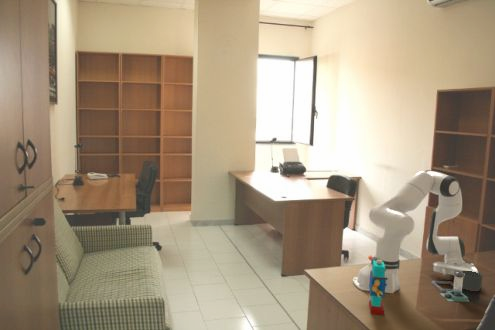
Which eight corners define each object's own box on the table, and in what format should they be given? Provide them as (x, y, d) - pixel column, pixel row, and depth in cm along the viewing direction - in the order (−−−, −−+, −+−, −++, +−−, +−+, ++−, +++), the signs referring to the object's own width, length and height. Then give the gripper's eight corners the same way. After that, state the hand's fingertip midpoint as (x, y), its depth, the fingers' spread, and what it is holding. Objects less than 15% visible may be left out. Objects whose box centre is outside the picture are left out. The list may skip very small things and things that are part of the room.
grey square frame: (441, 293, 200) (441, 289, 200) (431, 284, 210) (431, 280, 210) (461, 293, 201) (462, 289, 200) (450, 285, 211) (450, 281, 210)
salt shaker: (454, 299, 192) (457, 274, 190) (449, 295, 196) (452, 270, 195) (463, 299, 192) (466, 274, 191) (458, 295, 197) (461, 271, 195)
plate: (448, 303, 190) (448, 297, 190) (439, 295, 198) (440, 290, 198) (469, 303, 191) (470, 298, 190) (459, 295, 199) (460, 290, 198)
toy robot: (384, 317, 174) (389, 259, 171) (369, 315, 175) (374, 258, 172) (381, 304, 185) (386, 250, 182) (367, 302, 186) (371, 249, 183)
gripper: (433, 256, 220) (433, 265, 208) (476, 264, 212) (480, 273, 200) (432, 268, 221) (432, 277, 208) (475, 275, 213) (478, 285, 201)
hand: (456, 275), depth 204 cm, fingers open, 8 cm apart
